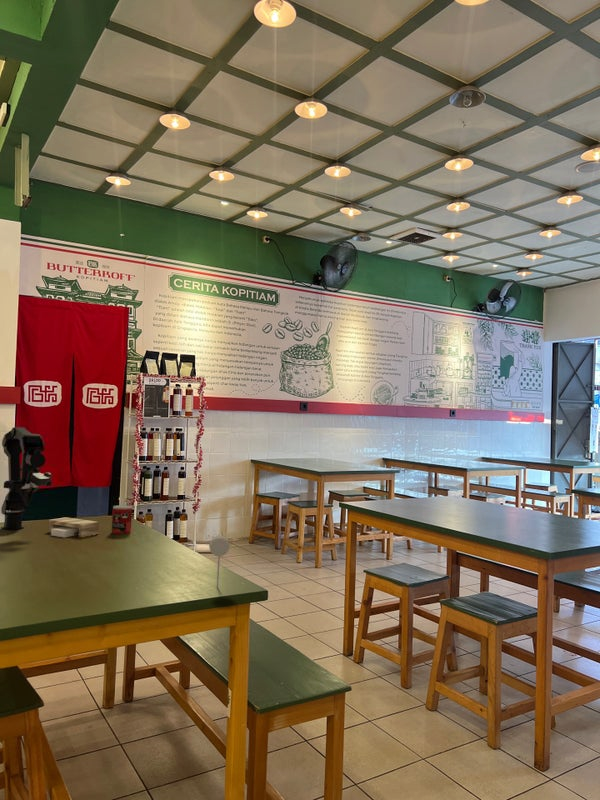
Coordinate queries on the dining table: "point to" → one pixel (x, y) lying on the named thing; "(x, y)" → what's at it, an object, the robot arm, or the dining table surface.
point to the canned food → (121, 519)
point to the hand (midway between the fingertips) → (26, 505)
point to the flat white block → (64, 531)
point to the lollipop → (219, 549)
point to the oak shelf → (76, 526)
